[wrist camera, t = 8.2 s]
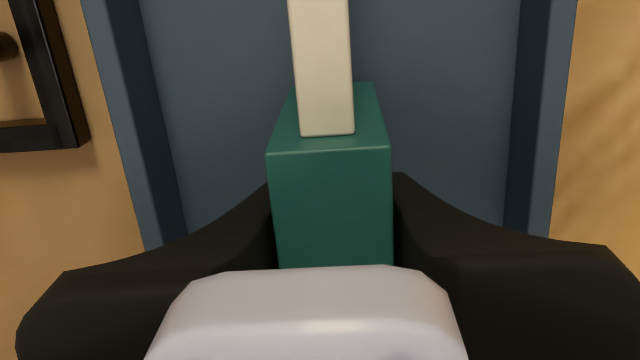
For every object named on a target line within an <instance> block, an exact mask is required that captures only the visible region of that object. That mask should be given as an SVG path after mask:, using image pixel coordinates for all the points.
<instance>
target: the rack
mask: <svg viewBox="0 0 640 360" xmlns="http://www.w3.org/2000/svg"><path fill="white" fill-rule="evenodd" d="M8 3H9V6H10V9H11V12H12V15H13V18H14V22H15V25H16V28H17V31H18V34H19V37H20V41H21V44H22V47H23V50H24V53H25V57H26V60H27V63H28V66H29V69H30V72H31V76H32V79H33V82H34V85H35V88H36V91H37V95H38V98H39V101H40V104H41V107H42V110H43V114H44V117H45V119H31V120H17V121H2V122H0V153H12V152H27V151H42V150H58V149H70V148H79V147H81V146H82V145H84V144H85V143H86V142H88V141H89V140H90V135H89V132H88V128H87V125H86V121H85V118H84V114H83V111H82V107H81V103H80V100H79V96H78V93H77V89H76V86H75V82H74V79H73V75H72V72H71V68H70V64H69V61H68V57H67V54H66V50H65V47H64V43H63V40H62V36H61V32H60V29H59V25H58V22H57V18H56V15H55V11H54V8H53V4H52V1H51V0H8ZM16 52H17V46H16V43H15V41H14V40H13V38H12V37H11V36H9V35H8V34H6V33H3V32H0V62H4V61H7V60H10V59H12V58H14V56H15V55H16Z"/></svg>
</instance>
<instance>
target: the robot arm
mask: <svg viewBox="0 0 640 360" xmlns="http://www.w3.org/2000/svg"><path fill="white" fill-rule="evenodd" d="M392 186H393V232H394V266H390V265H384V264H378V265H357V266H335V267H314V268H293V269H279V265H278V258H277V250H276V243H275V235H274V228H273V221H272V213H271V206H270V198H269V191H268V183H267V182H266V183H265V184H263V185H262V186H261V187H259V188H258V189H257V190H256V191H254V192H253V193H252V194H251V195H249V196H248V197H247V198H246V199H244V200H243V201H242V202H240V203H239V204H238V205H236V206H235V207H233V208H232V209H231V210H229V211H228V212H226V213H225V214H223V215H222V216H220V217H219V218H217V219H216V220H214V221H213V222H211V223H209V224H208V225H206V226H204V227H202V228H200V229H198V230H197V231H195V232H193V233H191V234H189V235H187V236H185V237H182V238H180V239H177V240H175V241H173V242H170V243H168V244H165V245H163V246H160V247H158V248H155V249H153V250H150V251H147V252H144V253H141V254H137V255H134V256H131V257H127V258H124V259H120V260H116V261H112V262H108V263H104V264H99V265H94V266H89V267H84V268H80V269H75V270H69V271H64V272H63V273H62V274H61V275H60V276H59V277H58V278H57V279H56V280H55V282H54V283H53V284H52V285H51V286H50V287H49V288H48V289H47V291H46V292H45V293H44V294H43V295H42V296H41V297H40V298H39V300H38V301H37V302H36V303H35V304H34V305H33V306H32V307H31V308H30V310H29V311H28V312H27V313H26V314H25V315H24V317H23V319H22V321H21V323H20V325H19V327H18V329H17V331H16V341H15V349H16V353H17V357H18V360H640V282H639V281H638V279H637V278H636V277H635V275H634V274H633V273H632V272H631V271H630V270H629V269H628V268H627V267H626V266H625V265H624V264H623V263H622V262H621V261H620V260H619V259H618V258H617V257H616V255H615V254H614V253H613V252H612V251H611V250H610V249H608V248H607V247H606V246H605V245H597V244H588V243H579V242H570V241H561V240H555V239H550V238H544V237H539V236H534V235H530V234H526V233H521V232H517V231H514V230H511V229H507V228H504V227H501V226H498V225H494V224H492V223H489V222H486V221H484V220H481V219H479V218H477V217H474V216H472V215H470V214H467V213H465V212H463V211H461V210H459V209H457V208H455V207H454V206H452V205H450V204H448V203H447V202H445V201H443V200H442V199H440V198H439V197H437V196H435V195H434V194H432V193H431V192H430V191H428V190H427V189H425V188H424V187H423V186H421V185H420V184H418V183H417V182H416V181H415V180H413V179H412V178H411V177H409V176H408V175H407V174H405V173H404V172H402V171H401V172H392Z"/></svg>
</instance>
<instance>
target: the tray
mask: <svg viewBox="0 0 640 360" xmlns="http://www.w3.org/2000/svg"><path fill="white" fill-rule="evenodd" d="M577 1H578V0H348V8H349V27H350V46H351V65H352V82H365V81H372V82H373V83H374V86H375V90H376V94H377V97H378V101H379V104H380V108H381V111H382V115H383V118H384V122H385V126H386V129H387V133H388V136H389V140H390V143H391V147H392V172H401V171H402V172H404V173H405V174H407V175H408V176H409V177H411V178H412V179H413V180H415V181H416V182H417V183H418V184H420V185H421V186H423V187H424V188H425V189H427V190H428V191H430V192H431V193H432V194H434V195H435V196H437V197H439V198H440V199H442V200H443V201H445V202H447V203H448V204H450V205H452V206H454V207H455V208H457V209H459V210H461V211H463V212H465V213H467V214H470V215H472V216H474V217H477V218H479V219H481V220H484V221H486V222H489V223H492V224H494V225H498V226H501V227H504V228H507V229H511V230H514V231H517V232H521V233H526V234H530V235H534V236H539V237H544V238H548V237H549V228H550V220H551V212H552V204H553V196H554V188H555V180H556V172H557V163H558V155H559V147H560V139H561V131H562V123H563V115H564V107H565V98H566V90H567V82H568V74H569V66H570V58H571V50H572V42H573V34H574V25H575V17H576V9H577ZM80 2H81V6H82V10H83V14H84V18H85V21H86V25H87V29H88V33H89V37H90V41H91V45H92V48H93V52H94V56H95V60H96V64H97V68H98V71H99V75H100V79H101V83H102V87H103V91H104V95H105V98H106V102H107V106H108V110H109V114H110V118H111V122H112V125H113V129H114V133H115V137H116V141H117V145H118V148H119V152H120V156H121V160H122V164H123V168H124V172H125V175H126V179H127V183H128V187H129V191H130V195H131V199H132V202H133V206H134V210H135V214H136V218H137V222H138V225H139V229H140V233H141V237H142V241H143V245H144V249H145V252H147V251H150V250H153V249H155V248H158V247H160V246H163V245H165V244H168V243H170V242H173V241H175V240H177V239H180V238H182V237H185V236H187V235H189V234H191V233H193V232H195V231H197V230H198V229H200V228H202V227H204V226H206V225H208V224H209V223H211V222H213V221H214V220H216V219H217V218H219V217H220V216H222V215H223V214H225V213H226V212H228V211H229V210H231V209H232V208H233V207H235V206H236V205H238V204H239V203H240V202H242V201H243V200H244V199H246V198H247V197H248V196H249V195H251V194H252V193H253V192H254V191H256V190H257V189H258V188H259V187H261V186H262V185H263V184H265V183H266V182H267V176H266V168H265V161H264V153H265V150H266V148H267V145H268V143H269V140H270V138H271V135H272V133H273V130H274V128H275V125H276V123H277V120H278V118H279V115H280V113H281V110H282V108H283V105H284V103H285V100H286V98H287V95H288V93H289V90H290V88H291V87H294V86H295V78H294V68H293V58H292V48H291V38H290V28H289V18H288V8H287V0H80Z"/></svg>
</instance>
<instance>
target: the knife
mask: <svg viewBox="0 0 640 360" xmlns="http://www.w3.org/2000/svg"><path fill="white" fill-rule="evenodd" d="M287 8H288V18H289V28H290V38H291V48H292V58H293V68H294V78H295V86H294V87H291V88H290V90H289V93H288V95H287V98H286V100H285V103H284V105H283V108H282V110H281V113H280V115H279V118H278V120H277V123H276V125H275V128H274V130H273V133H272V135H271V138H270V140H269V143H268V145H267V148H266V150H265V153H264V161H265V168H266V176H267V183H268V191H269V198H270V206H271V213H272V221H273V228H274V235H275V243H276V250H277V258H278V265H279V269H293V268H314V267H335V266H357V265H378V264H384V265H390V266H394V232H393V186H392V147H391V143H390V140H389V136H388V133H387V129H386V126H385V122H384V118H383V115H382V111H381V108H380V104H379V101H378V97H377V94H376V90H375V86H374V83H373V82H372V81H365V82H352V65H351V46H350V27H349V8H348V0H287Z"/></svg>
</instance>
